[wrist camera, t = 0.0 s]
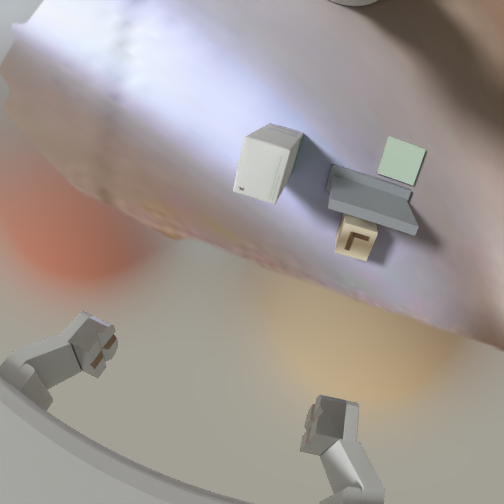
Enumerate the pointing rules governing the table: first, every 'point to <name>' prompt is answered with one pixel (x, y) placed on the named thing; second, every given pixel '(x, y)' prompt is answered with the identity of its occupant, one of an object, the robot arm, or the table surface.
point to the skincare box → (267, 162)
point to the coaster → (401, 160)
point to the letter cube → (355, 237)
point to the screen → (370, 199)
